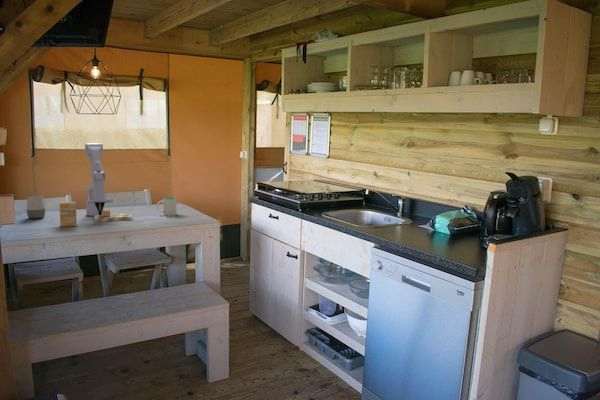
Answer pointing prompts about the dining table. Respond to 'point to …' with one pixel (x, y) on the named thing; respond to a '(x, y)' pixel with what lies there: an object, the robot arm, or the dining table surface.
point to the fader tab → (106, 212)
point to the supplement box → (68, 214)
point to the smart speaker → (35, 207)
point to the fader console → (113, 217)
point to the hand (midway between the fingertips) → (100, 215)
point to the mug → (168, 206)
